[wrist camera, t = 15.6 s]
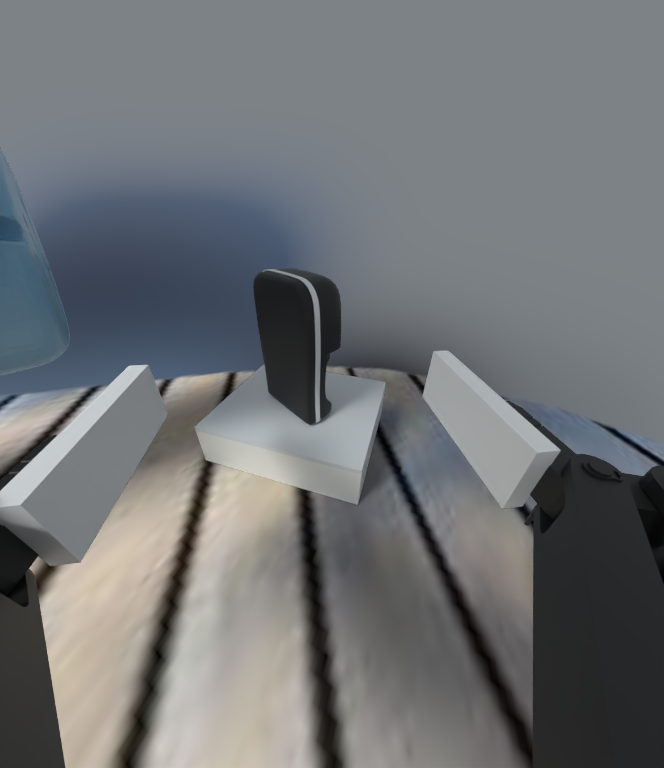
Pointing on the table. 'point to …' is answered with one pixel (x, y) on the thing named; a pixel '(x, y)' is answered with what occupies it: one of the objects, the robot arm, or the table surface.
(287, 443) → the stand
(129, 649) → the table surface
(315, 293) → the battery charger
